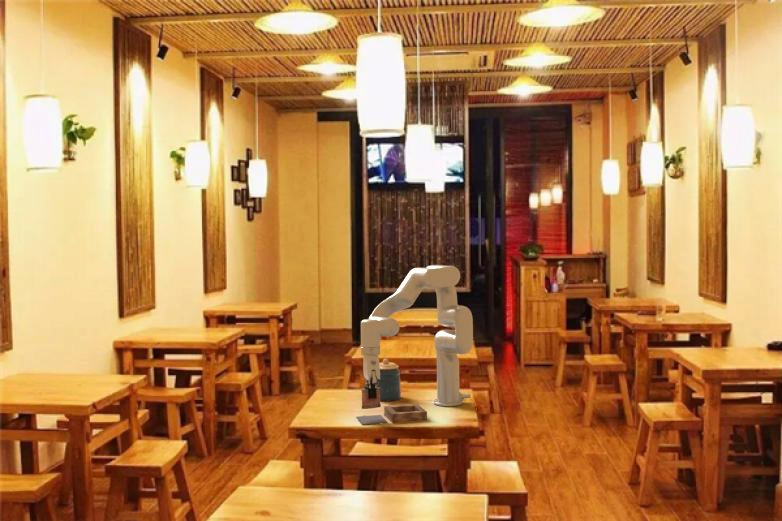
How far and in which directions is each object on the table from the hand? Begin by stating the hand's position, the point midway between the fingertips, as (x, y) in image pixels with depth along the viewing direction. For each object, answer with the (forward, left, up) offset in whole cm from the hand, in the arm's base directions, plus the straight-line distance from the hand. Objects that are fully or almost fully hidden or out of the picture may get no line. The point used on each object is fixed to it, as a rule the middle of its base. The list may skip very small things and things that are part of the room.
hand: (371, 396), depth 327 cm
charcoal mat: (0, 0, -10) cm, 10 cm away
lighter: (0, 0, -4) cm, 4 cm away
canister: (-15, -38, -10) cm, 42 cm away
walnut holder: (-14, -1, -10) cm, 17 cm away
